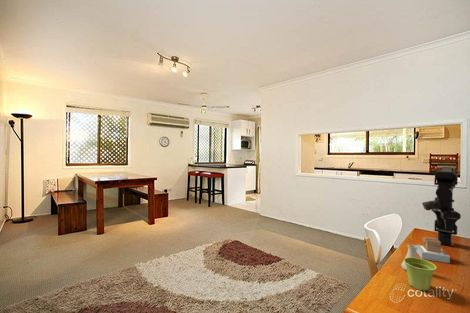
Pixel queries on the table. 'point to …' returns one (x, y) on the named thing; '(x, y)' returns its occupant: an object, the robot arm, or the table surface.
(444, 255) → the plinth
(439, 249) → the walnut block
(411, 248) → the flask
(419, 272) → the plant pot
